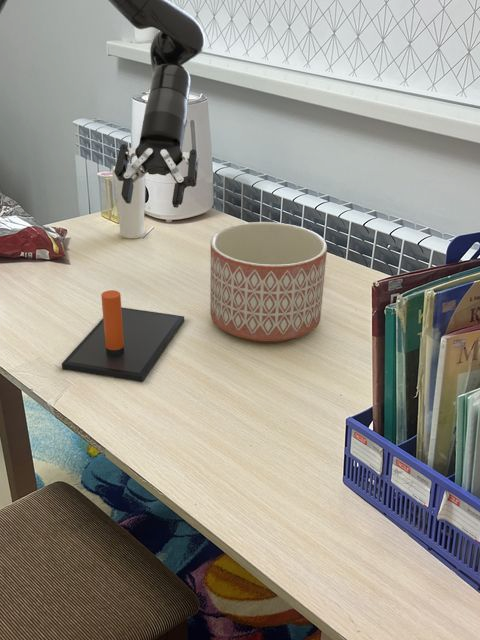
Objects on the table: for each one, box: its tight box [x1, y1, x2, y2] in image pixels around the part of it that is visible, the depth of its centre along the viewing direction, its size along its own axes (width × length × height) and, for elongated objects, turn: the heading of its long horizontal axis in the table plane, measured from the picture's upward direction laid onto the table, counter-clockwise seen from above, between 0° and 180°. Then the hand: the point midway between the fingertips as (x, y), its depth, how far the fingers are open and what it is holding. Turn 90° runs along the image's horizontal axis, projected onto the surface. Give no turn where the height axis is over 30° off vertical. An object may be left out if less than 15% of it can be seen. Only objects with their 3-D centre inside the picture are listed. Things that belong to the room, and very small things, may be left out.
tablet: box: [61, 306, 185, 383], centre depth 113 cm, size 13×20×1 cm, turn 168°
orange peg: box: [100, 289, 124, 356], centre depth 106 cm, size 3×3×10 cm
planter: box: [209, 221, 328, 344], centre depth 118 cm, size 19×19×15 cm
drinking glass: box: [112, 163, 147, 239], centre depth 150 cm, size 7×7×15 cm
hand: (151, 203), depth 120 cm, fingers open, 8 cm apart
